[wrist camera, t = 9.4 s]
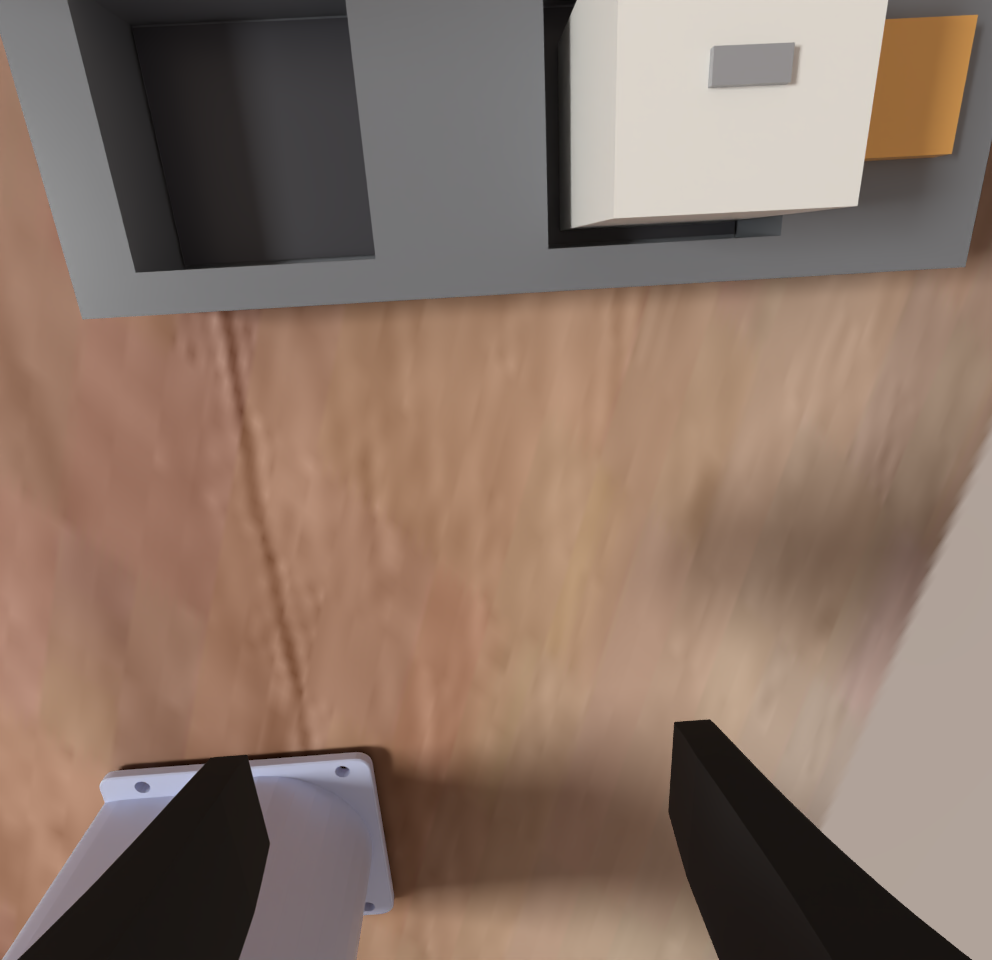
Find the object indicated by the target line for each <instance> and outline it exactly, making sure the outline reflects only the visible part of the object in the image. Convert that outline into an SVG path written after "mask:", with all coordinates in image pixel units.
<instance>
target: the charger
mask: <svg viewBox="0 0 992 960" xmlns="http://www.w3.org/2000/svg"><path fill="white" fill-rule="evenodd" d="M887 5H888V0H577V1H576V4H575V6H574V8H573V10H572V13H571V15H570V17H569V20H568V22H567V24H566V26H565V29H564V31H563V33H562V35H561V38H560V40H559V42H558V92H559V189H560V231H565V230H585V229H604V228H624V227H643V226H663V225H682V224H702V223H718V222H727V221H735V220H743V219H752V218H760V217H769V216H777V215H786V214H794V213H803V212H811V211H820V210H828V209H836V208H845V207H853V206H858V199H859V192H860V186H861V179H862V172H863V166H864V159H865V152H866V146H867V139H868V132H869V125H870V119H871V112H872V105H873V99H874V92H875V85H876V78H877V72H878V65H879V58H880V52H881V45H882V38H883V32H884V25H885V18H886V11H887Z"/></svg>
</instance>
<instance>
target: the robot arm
mask: <svg viewBox="0 0 992 960" xmlns="http://www.w3.org/2000/svg"><path fill="white" fill-rule="evenodd" d="M340 766H346V767H347V768H346V769H345V768H341V767H340ZM144 782H146V783H144ZM100 791H101V793H102V796H103V799H104V801H105V804H104V805H103V807H102V808H101V810H100V811H99V813H98V814H97V816H96V817H95V819H94V820H93V822H92V823H91V825H90V826H89V828H88V829H87V831H86V832H85V834H84V836H83V837H82V839H81V840H80V842H79V843H78V845H77V846H76V848H75V849H74V851H73V852H72V854H71V855H70V857H69V858H68V860H67V861H66V863H65V864H64V866H63V867H62V869H61V871H60V872H59V874H58V875H57V877H56V878H55V880H54V881H53V883H52V884H51V886H50V887H49V889H48V890H47V892H46V893H45V895H44V896H43V898H42V899H41V901H40V903H39V904H38V906H37V907H36V909H35V910H34V912H33V913H32V915H31V916H30V918H29V919H28V921H27V922H26V924H25V925H24V927H23V928H22V930H21V931H20V933H19V935H18V936H17V938H16V939H15V941H14V942H13V944H12V945H11V947H10V948H9V950H8V951H7V953H6V954H5V956H4V957H3V959H2V960H356V959H357V952H358V946H359V939H360V933H361V926H362V920H363V915H372V914H383V913H387V912H388V911H390V910H391V909H392V908H393V904H394V891H393V885H392V879H391V873H390V866H389V860H388V854H387V848H386V842H385V836H384V830H383V824H382V818H381V812H380V806H379V799H378V793H377V787H376V781H375V775H374V769H373V763H372V760H371V758H370V757H369V756H368V755H367V754H364V753H362V752H352V753H339V754H326V755H313V756H300V757H287V758H274V759H261V760H248V756H247V755H240V756H227V757H214V758H210V759H209V760H208V761H207V762H206V763H205V764H196V765H183V766H170V767H157V768H144V769H131V770H118V771H112V772H109V773H108V774H106V776H105V777H104V779H103V780H102V781H101V783H100ZM668 812H669V815H670V819H671V823H672V826H673V830H674V834H675V837H676V841H677V845H678V848H679V852H680V855H681V859H682V862H683V865H684V869H685V872H686V876H687V879H688V881H689V884H690V887H691V889H692V892H693V894H694V897H695V899H696V902H697V905H698V907H699V910H700V912H701V915H702V917H703V920H704V922H705V925H706V928H707V930H708V933H709V935H710V938H711V940H712V943H713V945H714V948H715V950H716V953H717V955H718V958H719V960H972V959H970V958H969V957H968V956H966V955H965V954H964V953H962V952H961V951H960V950H959V949H958V948H956V947H955V946H954V945H952V944H951V943H950V942H949V941H947V940H946V939H945V938H944V937H942V936H941V935H940V934H939V933H937V932H936V931H935V930H934V929H932V928H931V927H930V926H928V925H927V924H926V923H925V922H924V921H922V920H921V919H920V918H918V917H917V916H916V915H915V914H914V913H912V912H911V911H910V910H909V909H908V908H907V907H905V906H904V905H903V904H902V903H900V902H899V901H898V900H897V899H896V898H895V897H894V896H892V895H891V894H890V893H889V892H888V891H887V890H885V889H884V888H883V887H882V886H881V885H879V884H878V883H877V882H876V881H875V880H874V879H873V878H872V877H871V876H869V875H868V874H867V873H866V872H865V871H864V870H863V869H862V868H860V867H859V866H858V865H857V864H856V863H855V862H853V860H851V859H850V858H849V857H848V856H847V855H846V854H845V853H844V852H843V851H841V850H840V849H839V848H838V847H837V846H836V845H835V844H834V843H833V842H832V841H831V840H830V839H828V838H827V837H826V836H825V835H824V834H823V833H822V832H821V831H820V830H819V829H818V828H817V827H816V826H815V825H814V824H813V823H812V822H811V821H810V820H809V819H808V818H807V817H806V816H805V815H804V814H802V813H801V812H800V811H799V810H798V809H797V808H796V807H795V806H794V805H793V804H792V803H791V802H790V801H789V800H788V799H787V798H786V797H785V796H784V795H783V794H782V793H781V792H780V791H779V790H778V789H777V788H776V787H775V786H774V785H773V784H772V783H771V782H770V781H769V780H768V779H767V778H766V777H765V776H764V775H763V774H762V773H761V772H760V771H759V770H758V769H757V768H756V767H755V766H754V764H753V763H752V762H751V761H750V760H749V759H748V758H747V757H746V756H745V755H744V754H743V753H742V752H741V751H740V750H739V749H738V748H737V747H736V746H735V745H734V743H733V742H732V741H731V740H730V739H729V738H728V737H727V736H726V735H725V734H724V733H723V732H722V731H721V730H720V729H719V728H718V727H717V726H716V725H715V724H714V723H713V722H712V721H711V720H710V719H709V720H696V721H683V722H674V733H673V749H672V765H671V780H670V796H669V811H668Z"/></svg>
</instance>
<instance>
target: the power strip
mask: <svg viewBox="0 0 992 960" xmlns="http://www.w3.org/2000/svg"><path fill="white" fill-rule="evenodd" d="M576 1H577V0H0V35H1V38H2V41H3V45H4V48H5V52H6V55H7V59H8V62H9V66H10V69H11V73H12V76H13V80H14V83H15V87H16V90H17V94H18V97H19V100H20V104H21V107H22V111H23V114H24V118H25V121H26V125H27V128H28V132H29V135H30V139H31V142H32V146H33V149H34V153H35V156H36V159H37V163H38V166H39V170H40V173H41V177H42V180H43V184H44V187H45V191H46V194H47V198H48V201H49V205H50V208H51V212H52V215H53V219H54V222H55V225H56V229H57V232H58V236H59V239H60V243H61V246H62V250H63V253H64V257H65V260H66V264H67V267H68V271H69V274H70V278H71V281H72V284H73V288H74V291H75V295H76V298H77V302H78V305H79V309H80V312H81V316H82V319H95V318H112V317H129V316H146V315H163V314H180V313H196V312H213V311H230V310H247V309H264V308H281V307H298V306H315V305H332V304H348V303H365V302H382V301H399V300H416V299H433V298H450V297H467V296H483V295H500V294H517V293H534V292H551V291H568V290H585V289H602V288H618V287H635V286H652V285H669V284H686V283H703V282H720V281H737V280H754V279H770V278H787V277H804V276H821V275H838V274H855V273H872V272H889V271H905V270H922V269H939V268H956V267H965V266H966V261H967V256H968V251H969V247H970V242H971V237H972V232H973V227H974V223H975V218H976V213H977V208H978V203H979V199H980V194H981V189H982V184H983V180H984V175H985V170H986V165H987V160H988V156H989V151H990V146H991V141H992V0H888V5H887V11H886V18H885V25H884V32H883V38H882V45H881V52H880V58H879V65H878V72H877V78H876V85H875V92H874V99H873V105H872V112H871V119H870V125H869V132H868V139H867V146H866V152H865V159H864V166H863V172H862V179H861V186H860V192H859V199H858V206H853V207H845V208H836V209H828V210H820V211H811V212H803V213H794V214H786V215H777V216H769V217H760V218H752V219H743V220H735V221H727V222H718V223H702V224H682V225H663V226H643V227H624V228H604V229H585V230H565V231H560V189H559V92H558V42H559V40H560V38H561V35H562V33H563V31H564V29H565V26H566V24H567V22H568V20H569V17H570V15H571V13H572V10H573V8H574V6H575V4H576Z"/></svg>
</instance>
